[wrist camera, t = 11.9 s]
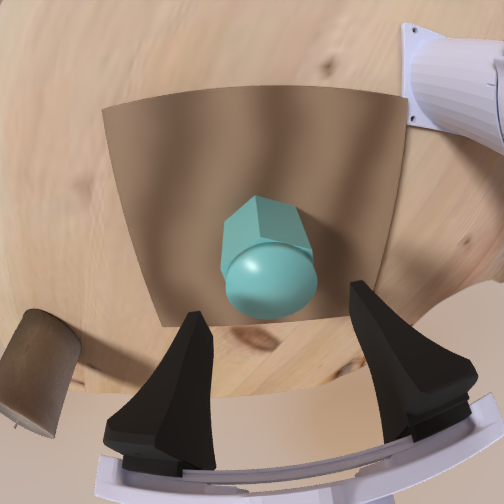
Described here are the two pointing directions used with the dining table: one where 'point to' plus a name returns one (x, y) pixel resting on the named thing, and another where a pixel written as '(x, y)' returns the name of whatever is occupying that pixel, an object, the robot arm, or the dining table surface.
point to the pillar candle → (37, 372)
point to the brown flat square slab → (255, 186)
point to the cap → (267, 260)
